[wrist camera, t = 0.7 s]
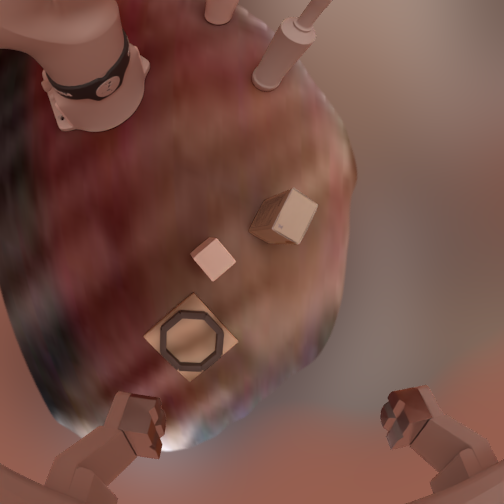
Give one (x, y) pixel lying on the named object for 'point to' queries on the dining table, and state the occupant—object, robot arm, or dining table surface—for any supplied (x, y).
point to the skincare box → (284, 218)
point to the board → (190, 337)
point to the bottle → (287, 46)
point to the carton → (212, 258)
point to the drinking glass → (219, 11)
